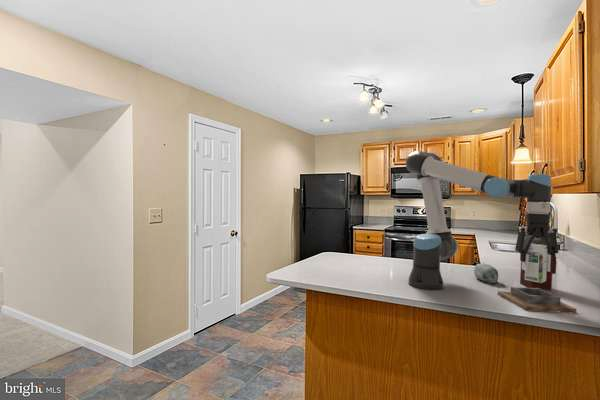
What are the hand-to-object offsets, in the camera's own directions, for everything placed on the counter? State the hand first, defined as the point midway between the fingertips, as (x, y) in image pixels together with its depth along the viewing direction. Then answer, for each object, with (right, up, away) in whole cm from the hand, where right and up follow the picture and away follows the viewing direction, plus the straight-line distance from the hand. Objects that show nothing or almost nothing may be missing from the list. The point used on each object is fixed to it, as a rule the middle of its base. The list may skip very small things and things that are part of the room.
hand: (535, 270), depth 123 cm
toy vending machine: (+19, -13, +23) cm, 33 cm away
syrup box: (0, -4, 0) cm, 4 cm away
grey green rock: (-1, -13, +32) cm, 35 cm away
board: (0, -13, 0) cm, 13 cm away
